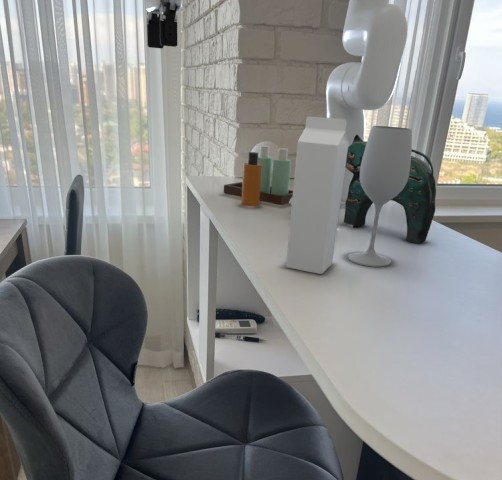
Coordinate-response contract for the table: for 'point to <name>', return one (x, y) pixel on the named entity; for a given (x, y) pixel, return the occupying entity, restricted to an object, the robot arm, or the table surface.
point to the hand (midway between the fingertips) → (161, 46)
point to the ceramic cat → (411, 197)
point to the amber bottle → (251, 180)
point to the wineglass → (383, 178)
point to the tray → (266, 197)
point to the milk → (317, 194)
